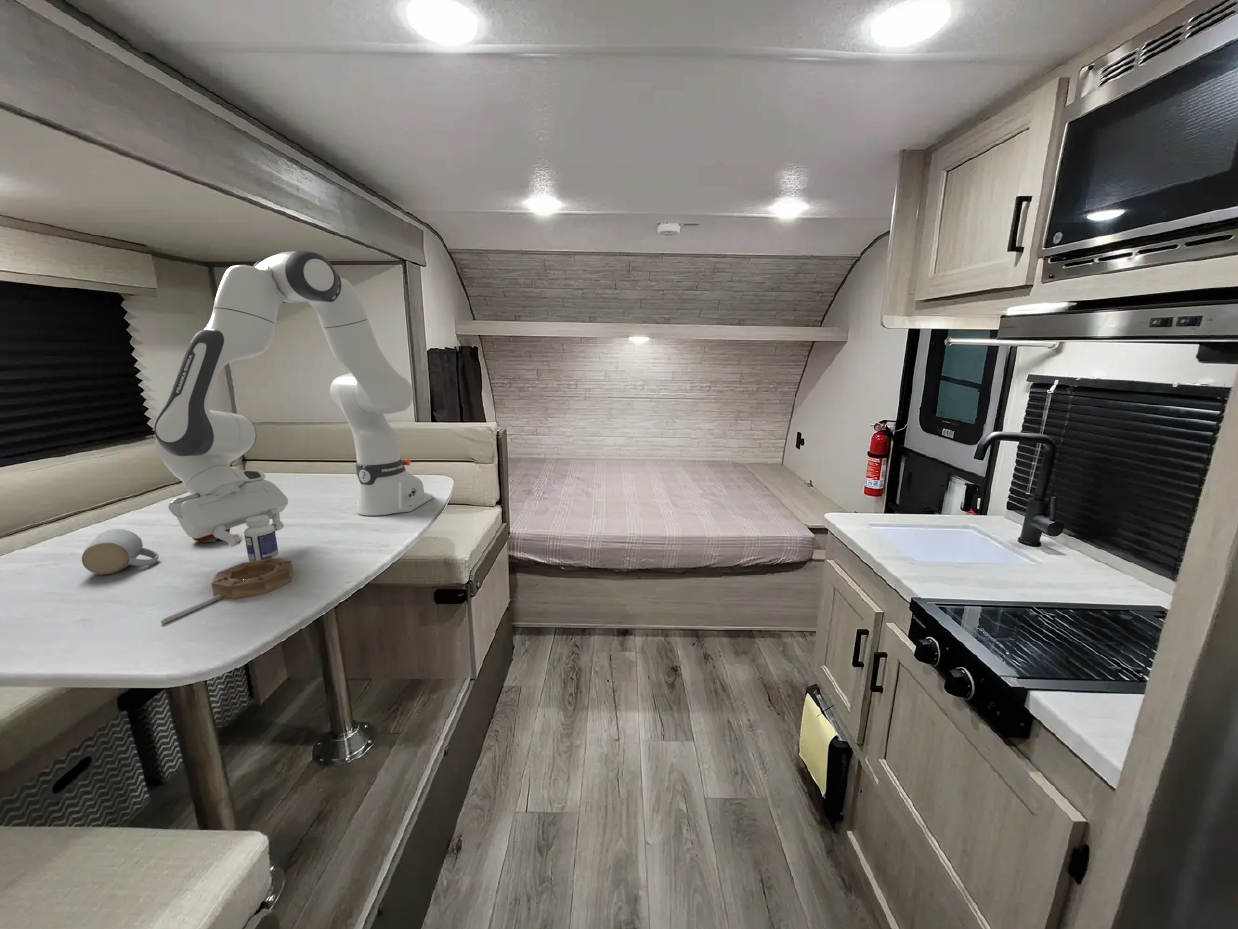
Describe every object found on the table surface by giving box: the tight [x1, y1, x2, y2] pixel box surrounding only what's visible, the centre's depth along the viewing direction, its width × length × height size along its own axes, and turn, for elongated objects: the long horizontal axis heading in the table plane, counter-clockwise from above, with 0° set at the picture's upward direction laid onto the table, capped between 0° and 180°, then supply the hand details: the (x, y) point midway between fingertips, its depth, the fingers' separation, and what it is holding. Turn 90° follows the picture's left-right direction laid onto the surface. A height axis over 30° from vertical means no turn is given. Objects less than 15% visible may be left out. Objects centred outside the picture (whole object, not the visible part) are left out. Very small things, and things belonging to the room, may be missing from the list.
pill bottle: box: [243, 515, 280, 562], centre depth 106 cm, size 5×5×10 cm
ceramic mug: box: [81, 528, 160, 575], centre depth 103 cm, size 11×8×8 cm
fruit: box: [192, 528, 231, 544], centre depth 119 cm, size 8×8×8 cm
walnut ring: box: [211, 558, 294, 600], centre depth 96 cm, size 12×12×2 cm
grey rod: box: [160, 595, 223, 625], centre depth 86 cm, size 9×1×1 cm, turn 164°
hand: (259, 536), depth 106 cm, fingers open, 8 cm apart
